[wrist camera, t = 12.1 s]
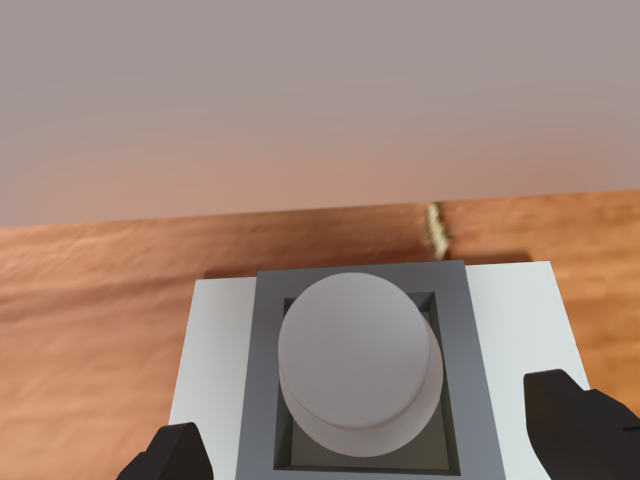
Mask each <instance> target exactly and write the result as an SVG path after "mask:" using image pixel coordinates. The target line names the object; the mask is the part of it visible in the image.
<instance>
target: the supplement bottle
mask: <svg viewBox="0 0 640 480" xmlns="http://www.w3.org/2000/svg"><path fill="white" fill-rule="evenodd" d="M278 359H279V377H280V384H281V389H282V393H283V396H284V400H285V402H286V405H287V407H288V409H289V411H290V413H291V414H292V416H293V418H294V419H295V421H296V422H297V424H298V425H299V426H300V427H301V428H302V430H303V431H304V432H305V433H306V434H307V435H309V436H310V437H311V438H312V439H313V440H315V441H316V442H317V443H319V444H320V445H322V446H324V447H325V448H327V449H329V450H332V451H334V452H337V453H340V454H344V455H348V456H354V457H373V456H378V455H382V454H386V453H389V452H392V451H394V450H396V449H398V448H400V447H402V446H404V445H405V444H407V443H408V442H410V441H411V440H412V439H413V438H414V437H416V436H417V435H418V434H419V433H420V432H421V430H422V429H423V428H424V427H425V426H426V424H427V423H428V421H429V420H430V418H431V417H432V415H433V413H434V411H435V409H436V406H437V404H438V401H439V398H440V394H441V389H442V383H443V363H442V357H441V352H440V348H439V345H438V342H437V339H436V337H435V335H434V333H433V331H432V329H431V327H430V326H429V324H428V323H427V321H426V320H425V318H424V317H423V316H422V315H421V313H420V312H419V310H418V308H417V307H416V305H415V304H414V302H413V301H412V300H411V299H410V298H409V297H408V296H407V295H406V294H405V293H404V292H403V291H402V290H401V289H400V288H398V287H397V286H396V285H394V284H392V283H391V282H389V281H387V280H385V279H383V278H380V277H377V276H374V275H370V274H366V273H341V274H336V275H332V276H329V277H327V278H324V279H322V280H320V281H318V282H316V283H315V284H313V285H311V286H310V287H309V288H307V289H306V290H305V291H304V292H303V293H302V294H301V295H300V296H299V297H298V298H297V299H296V300H295V301H294V303H293V304H292V305H291V307H290V308H289V310H288V312H287V314H286V316H285V318H284V321H283V323H282V326H281V330H280V334H279V341H278Z"/></svg>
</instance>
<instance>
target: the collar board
mask: <svg viewBox="0 0 640 480" xmlns="http://www.w3.org/2000/svg"><path fill="white" fill-rule="evenodd" d="M341 273H366V274H370V275H374V276H377V277H380V278H383V279H385V280H387V281H389V282H391V283H392V284H394V285H396V286H397V287H398V288H400V289H401V290H402V291H403V292H404V293H405V294H406V295H407V296H408V297H409V298H410V299H411V300H412V301H413V302H414V304H415V305H416V307H417V308H418V310H419V312H420V313H421V315H422V316H423V317H424V318H425V320H426V321H427V323H428V324H429V326H430V327H431V329H432V331H433V333H434V335H435V337H436V339H437V342H438V345H439V348H440V352H441V357H442V363H443V383H442V389H441V394H440V398H439V401H438V404H437V406H436V409H435V411H434V413H433V415H432V417H431V418H430V420H429V421H428V423H427V424H426V426H425V427H424V428H423V429H422V430H421V432H420V433H419V434H418V435H417V436H416V437H414V438H413V439H412V440H411V441H410V442H408V443H407V444H405V445H404V446H402V447H400V448H398V449H396V450H394V451H392V452H389V453H386V454H382V455H378V456H373V457H354V456H348V455H344V454H340V453H337V452H334V451H332V450H329V449H327V448H325V447H324V446H322V445H320V444H319V443H317V442H316V441H315V440H313V439H312V438H311V437H310V436H309V435H307V434H306V433H305V432H304V431H303V430H302V428H301V427H300V426H299V425H298V424H297V422H296V421H295V419H294V418H293V416H292V414H291V413H290V411H289V409H288V407H287V405H286V402H285V400H284V396H283V393H282V389H281V384H280V377H279V359H278V341H279V334H280V330H281V326H282V323H283V321H284V318H285V316H286V314H287V312H288V310H289V308H290V307H291V305H292V304H293V303H294V301H295V300H296V299H297V298H298V297H299V296H300V295H301V294H302V293H303V292H304V291H305V290H306V289H307V288H309V287H310V286H311V285H313V284H315V283H316V282H318V281H320V280H322V279H324V278H327V277H329V276H332V275H336V274H341ZM553 369H562V370H564V371H565V372H566V373H567V374H568V375H569V376H570V377H571V378H572V379H573V380H574V381H575V382H576V383H577V384H578V385H579V386H580V387H581V388H582V389H583V390H584V391H585V390H590V387H589V384H588V381H587V378H586V375H585V371H584V368H583V365H582V362H581V359H580V356H579V352H578V349H577V346H576V343H575V340H574V337H573V334H572V330H571V327H570V324H569V321H568V318H567V315H566V311H565V308H564V305H563V302H562V299H561V296H560V293H559V289H558V286H557V283H556V280H555V277H554V274H553V270H552V267H551V264H550V261H543V262H524V263H505V264H486V265H468V266H465V263H464V260H447V261H429V262H411V263H393V264H375V265H357V266H339V267H321V268H303V269H285V270H267V271H257V277H241V278H222V279H203V280H196V283H195V288H194V294H193V299H192V304H191V309H190V315H189V320H188V325H187V330H186V335H185V341H184V346H183V351H182V356H181V361H180V367H179V372H178V377H177V382H176V388H175V393H174V398H173V403H172V408H171V414H170V419H169V424H168V425H174V424H181V423H187V422H193V423H195V424H196V425H197V427H198V430H199V432H200V435H201V438H202V441H203V443H204V446H205V449H206V452H207V454H208V457H209V460H210V463H211V465H212V469H213V474H214V480H551V479H550V477H549V476H548V474H547V472H546V471H545V469H544V468H543V466H542V465H541V463H540V461H539V460H538V458H537V456H536V454H535V453H534V450H533V448H532V446H531V443H530V440H529V437H528V433H527V429H526V416H525V401H524V386H523V378H524V375H525V374H526V373H533V372H539V371H546V370H553Z"/></svg>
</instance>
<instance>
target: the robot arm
mask: <svg viewBox="0 0 640 480" xmlns="http://www.w3.org/2000/svg"><path fill="white" fill-rule="evenodd" d="M523 386H524V401H525V416H526V429H527V433H528V437H529V440H530V443H531V446H532V448H533V450H534V453H535V454H536V456H537V458H538V460H539V461H540V463H541V465H542V466H543V468H544V469H545V471H546V472H547V474H548V476H549V477H550V479H551V480H640V419H639V418H638V417H637V416H636V415H635V414H634V413H633V412H632V411H630V410H629V409H628V408H627V407H626V406H625V405H624V404H622V403H620V402H618V401H617V400H615V399H613V398H611V397H609V396H607V395H606V394H604V393H602V392H600V391H598V390H597V389H592V390H585V391H584V390H583V389H582V388H581V387H580V386H579V385H578V384H577V383H576V382H575V381H574V380H573V379H572V378H571V377H570V376H569V375H568V374H567V373H566V372H565V371H564V370H562V369H553V370H546V371H539V372H533V373H526V374H525V375H524V378H523ZM116 480H214V474H213V469H212V465H211V463H210V460H209V457H208V454H207V452H206V449H205V446H204V443H203V441H202V438H201V435H200V432H199V430H198V427H197V425H196V424H195V423H193V422H187V423H181V424H174V425H167V426H163V427H161V428H160V429H159V430H158V431H157V433H156V435H155V436H154V438H153V440H152V441H151V443H150V445H149V446H148V448H147V450H146V451H145V452H140V453H139V454H138V455H137V456H136V457H135V458H134V459H133V460H132V461H131V462H130V463H129V464H128V465H127V466H126V467H125V468H124V469H123V470H122V471H121V472H120V474H119V475H118V477H117V479H116Z"/></svg>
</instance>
